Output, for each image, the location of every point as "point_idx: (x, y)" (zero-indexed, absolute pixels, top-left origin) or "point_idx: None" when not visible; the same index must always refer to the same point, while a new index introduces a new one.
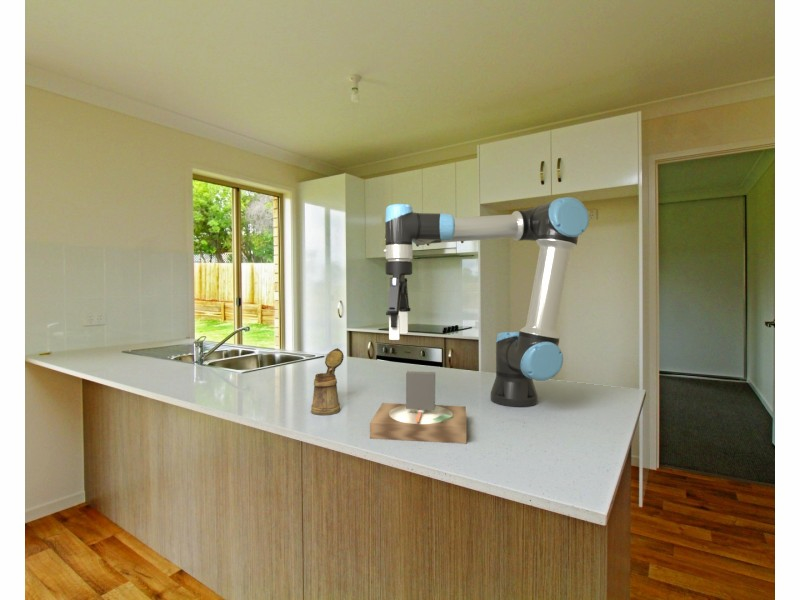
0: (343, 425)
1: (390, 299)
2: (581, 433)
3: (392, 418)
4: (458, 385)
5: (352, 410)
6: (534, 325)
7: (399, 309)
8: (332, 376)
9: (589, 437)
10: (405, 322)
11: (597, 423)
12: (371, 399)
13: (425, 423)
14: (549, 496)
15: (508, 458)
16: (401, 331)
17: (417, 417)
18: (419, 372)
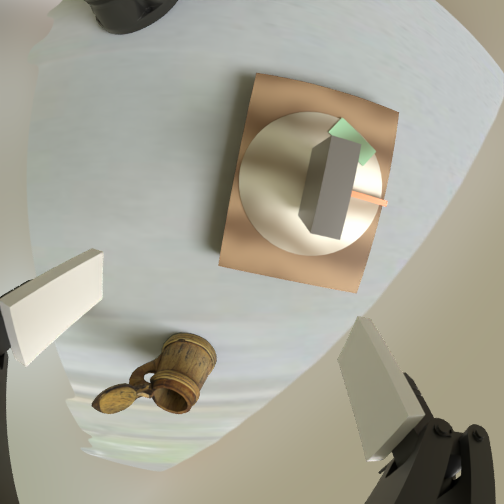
0: (275, 326)
1: None
2: None
3: (339, 249)
4: (35, 101)
5: (184, 312)
6: None
7: (6, 365)
8: (180, 390)
9: None
10: (62, 287)
11: None
12: (111, 274)
13: (381, 185)
14: (498, 101)
15: (433, 84)
16: (95, 288)
17: (372, 200)
18: (335, 192)
